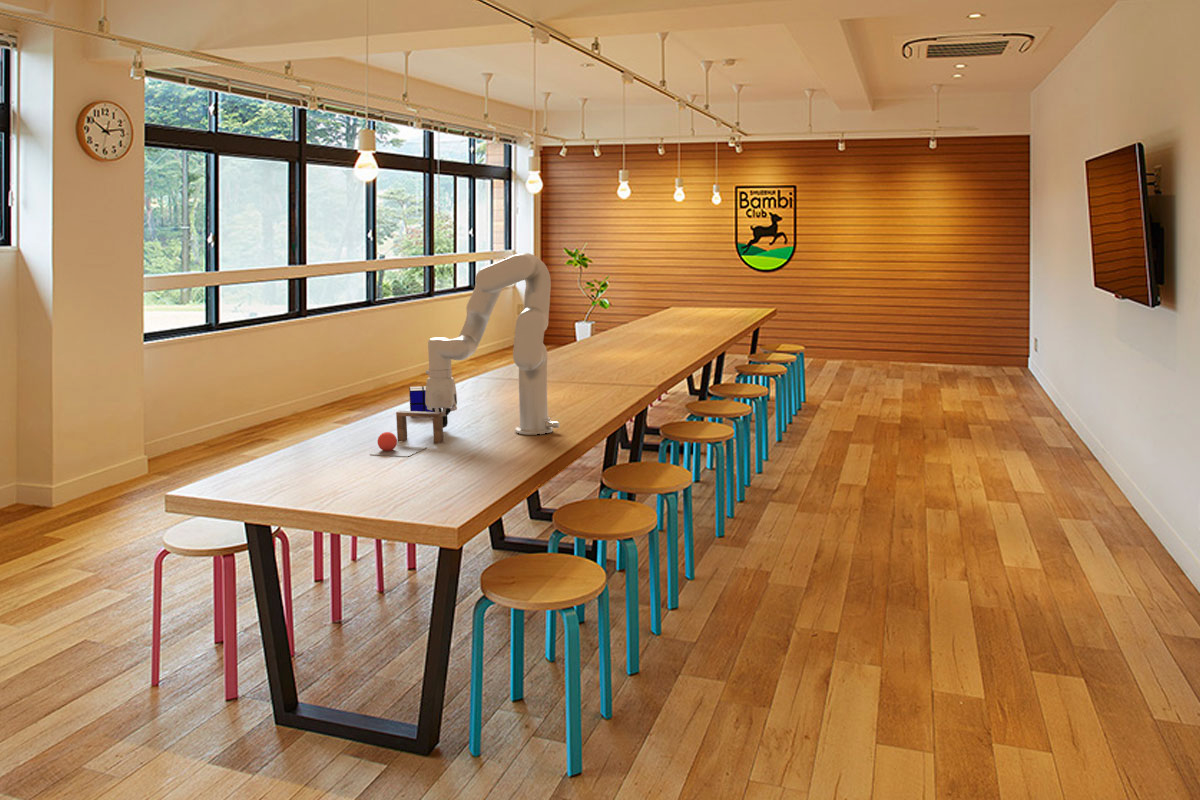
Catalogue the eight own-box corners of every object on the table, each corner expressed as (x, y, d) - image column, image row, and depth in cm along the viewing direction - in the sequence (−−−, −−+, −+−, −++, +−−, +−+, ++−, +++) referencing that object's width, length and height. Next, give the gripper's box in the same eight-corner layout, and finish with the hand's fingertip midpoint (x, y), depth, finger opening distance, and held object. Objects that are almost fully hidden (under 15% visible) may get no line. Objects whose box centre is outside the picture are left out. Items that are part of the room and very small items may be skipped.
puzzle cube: (410, 417, 372) (409, 390, 370) (410, 412, 382) (409, 386, 380) (438, 416, 374) (437, 389, 372) (437, 411, 384) (435, 385, 382)
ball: (393, 456, 315) (402, 444, 319) (389, 442, 311) (398, 429, 315) (376, 453, 316) (385, 441, 321) (372, 439, 313) (381, 426, 317)
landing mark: (426, 448, 320) (426, 447, 320) (407, 457, 307) (407, 456, 307) (390, 446, 323) (390, 445, 323) (369, 454, 311) (369, 454, 311)
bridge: (401, 439, 333) (400, 410, 331) (443, 441, 329) (442, 412, 327) (397, 441, 330) (396, 412, 329) (439, 443, 326) (438, 414, 324)
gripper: (415, 375, 341) (418, 428, 344) (456, 376, 337) (458, 430, 340) (425, 371, 348) (427, 424, 351) (465, 373, 344) (467, 425, 347)
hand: (442, 426), depth 345 cm, fingers closed
